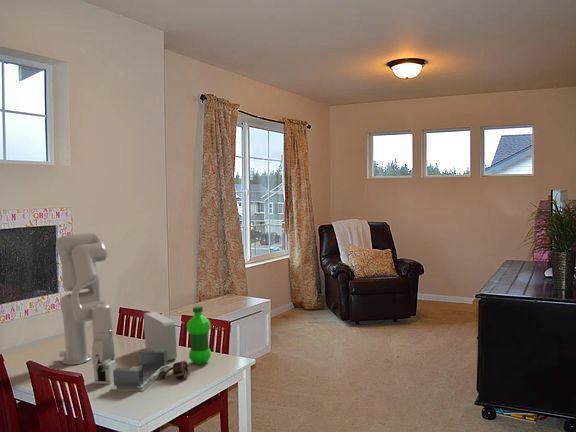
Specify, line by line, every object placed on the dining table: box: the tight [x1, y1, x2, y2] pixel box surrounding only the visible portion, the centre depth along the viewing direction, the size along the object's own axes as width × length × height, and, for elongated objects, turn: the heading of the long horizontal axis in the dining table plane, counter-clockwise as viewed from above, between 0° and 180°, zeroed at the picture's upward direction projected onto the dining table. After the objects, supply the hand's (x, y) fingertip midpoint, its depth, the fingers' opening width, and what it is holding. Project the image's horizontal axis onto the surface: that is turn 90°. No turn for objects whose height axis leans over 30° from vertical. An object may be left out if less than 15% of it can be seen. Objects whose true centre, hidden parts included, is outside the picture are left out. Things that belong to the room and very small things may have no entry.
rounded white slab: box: [143, 311, 178, 362], centre depth 253 cm, size 29×8×18 cm, turn 33°
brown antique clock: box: [158, 360, 191, 380], centre depth 220 cm, size 7×13×10 cm
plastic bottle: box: [186, 305, 212, 366], centre depth 236 cm, size 10×10×25 cm
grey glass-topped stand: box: [109, 348, 172, 392], centre depth 220 cm, size 14×27×9 cm, turn 169°
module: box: [93, 359, 117, 385], centre depth 218 cm, size 7×5×8 cm
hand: (105, 377), depth 219 cm, fingers closed on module, 5 cm apart
